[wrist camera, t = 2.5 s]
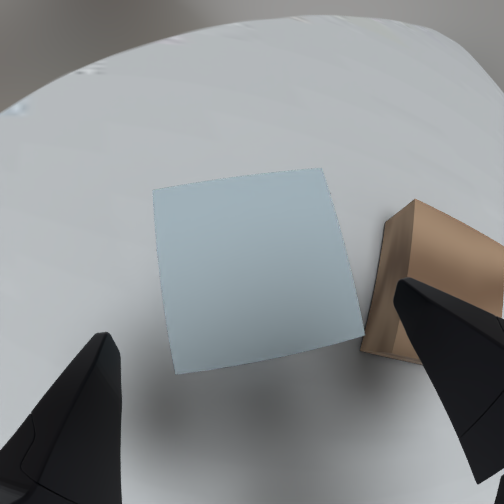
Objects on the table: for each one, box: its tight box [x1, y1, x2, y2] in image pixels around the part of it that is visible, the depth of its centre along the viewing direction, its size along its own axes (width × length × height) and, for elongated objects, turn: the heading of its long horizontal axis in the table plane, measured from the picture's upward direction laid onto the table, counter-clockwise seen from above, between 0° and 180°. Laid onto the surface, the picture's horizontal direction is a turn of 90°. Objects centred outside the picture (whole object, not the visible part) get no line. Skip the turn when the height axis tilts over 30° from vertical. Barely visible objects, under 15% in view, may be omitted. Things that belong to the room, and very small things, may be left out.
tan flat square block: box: [360, 199, 504, 365], centre depth 16 cm, size 9×9×4 cm
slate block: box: [153, 168, 365, 375], centre depth 12 cm, size 5×5×10 cm
